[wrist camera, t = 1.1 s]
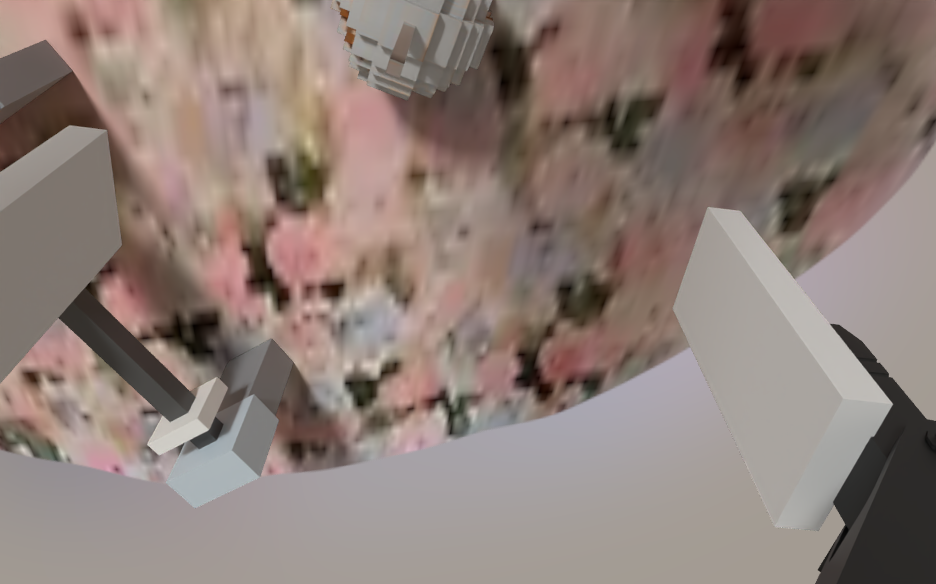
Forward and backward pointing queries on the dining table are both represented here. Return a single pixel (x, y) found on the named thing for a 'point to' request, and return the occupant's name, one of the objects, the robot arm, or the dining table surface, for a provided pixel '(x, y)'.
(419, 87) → the candy apple
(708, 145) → the dining table surface
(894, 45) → the dining table surface
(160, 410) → the rod fixture
